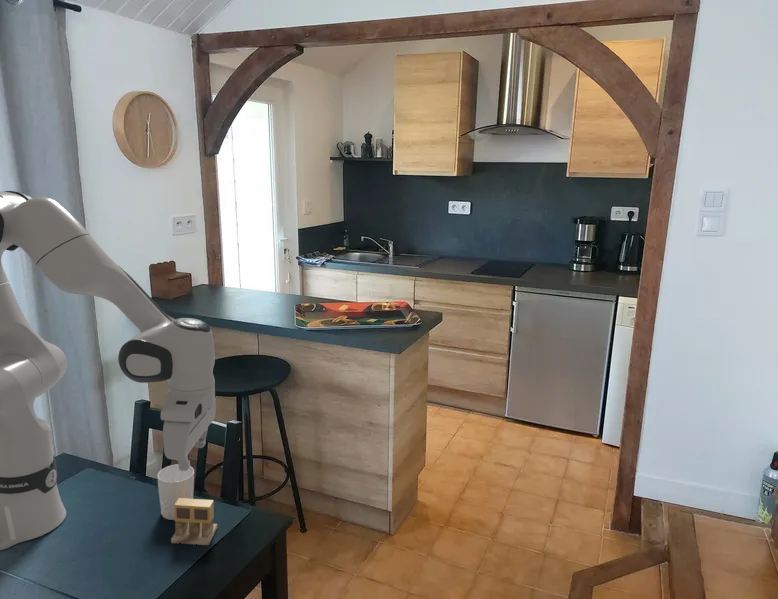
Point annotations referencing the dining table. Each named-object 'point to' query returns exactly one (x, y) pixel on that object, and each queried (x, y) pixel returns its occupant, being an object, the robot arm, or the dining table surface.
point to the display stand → (193, 533)
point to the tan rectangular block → (194, 510)
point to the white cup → (174, 488)
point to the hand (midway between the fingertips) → (192, 457)
